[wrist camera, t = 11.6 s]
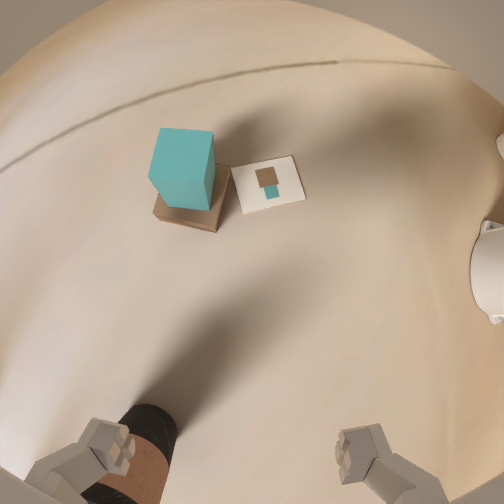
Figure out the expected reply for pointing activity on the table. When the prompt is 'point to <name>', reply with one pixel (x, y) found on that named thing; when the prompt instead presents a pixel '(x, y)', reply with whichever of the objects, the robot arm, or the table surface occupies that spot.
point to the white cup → (500, 144)
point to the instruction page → (267, 184)
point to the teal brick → (184, 168)
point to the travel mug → (140, 460)
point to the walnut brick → (198, 217)
